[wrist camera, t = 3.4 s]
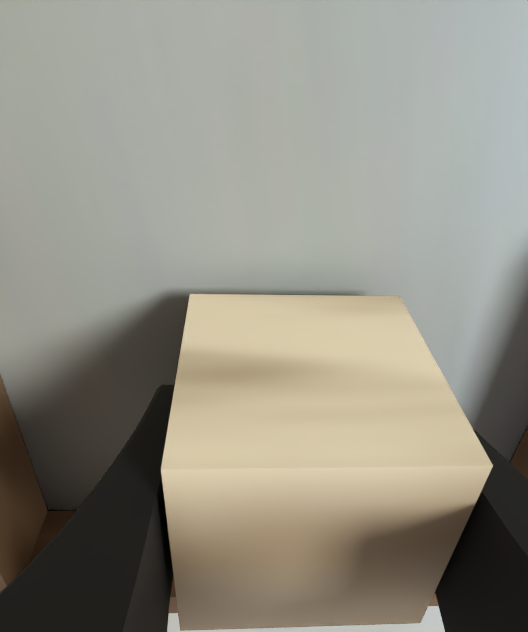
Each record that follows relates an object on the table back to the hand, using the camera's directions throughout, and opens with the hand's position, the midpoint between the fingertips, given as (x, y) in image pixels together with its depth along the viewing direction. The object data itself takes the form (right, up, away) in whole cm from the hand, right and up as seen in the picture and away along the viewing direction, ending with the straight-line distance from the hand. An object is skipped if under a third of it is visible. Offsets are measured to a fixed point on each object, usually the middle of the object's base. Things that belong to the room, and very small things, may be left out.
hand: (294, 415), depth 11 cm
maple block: (0, +1, +1) cm, 1 cm away
